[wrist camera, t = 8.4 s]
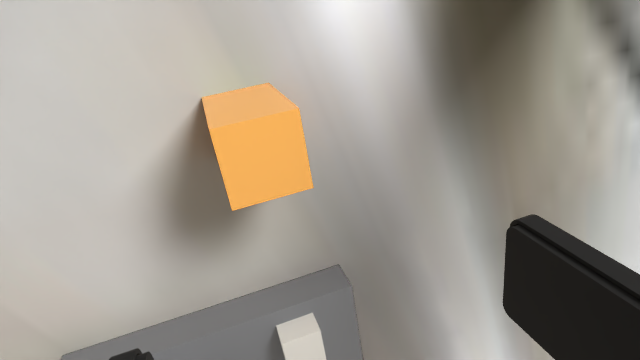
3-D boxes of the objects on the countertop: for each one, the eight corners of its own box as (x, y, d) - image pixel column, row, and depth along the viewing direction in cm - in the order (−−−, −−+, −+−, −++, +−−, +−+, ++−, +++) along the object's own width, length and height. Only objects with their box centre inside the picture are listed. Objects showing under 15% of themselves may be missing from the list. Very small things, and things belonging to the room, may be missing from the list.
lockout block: (268, 82, 27) (298, 108, 20) (281, 144, 29) (313, 187, 22) (201, 97, 26) (208, 129, 19) (219, 160, 28) (232, 210, 21)
